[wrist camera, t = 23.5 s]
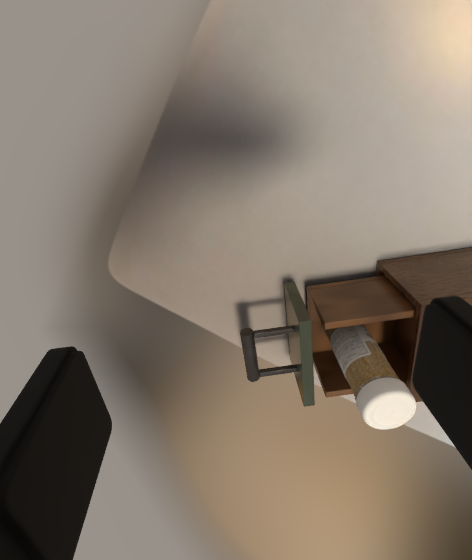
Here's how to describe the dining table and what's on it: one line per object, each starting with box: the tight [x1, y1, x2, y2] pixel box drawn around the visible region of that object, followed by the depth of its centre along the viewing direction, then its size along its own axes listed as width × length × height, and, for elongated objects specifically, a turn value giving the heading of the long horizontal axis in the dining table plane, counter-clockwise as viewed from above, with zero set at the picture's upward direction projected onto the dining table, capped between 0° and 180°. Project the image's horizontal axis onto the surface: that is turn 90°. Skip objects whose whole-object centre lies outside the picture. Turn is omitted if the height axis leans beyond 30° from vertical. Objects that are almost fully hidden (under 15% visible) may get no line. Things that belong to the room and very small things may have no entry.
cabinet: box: [376, 247, 472, 402], centre depth 37 cm, size 15×13×10 cm
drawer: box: [240, 275, 416, 406], centre depth 38 cm, size 19×11×8 cm, turn 98°
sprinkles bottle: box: [322, 324, 416, 430], centre depth 34 cm, size 5×5×13 cm
